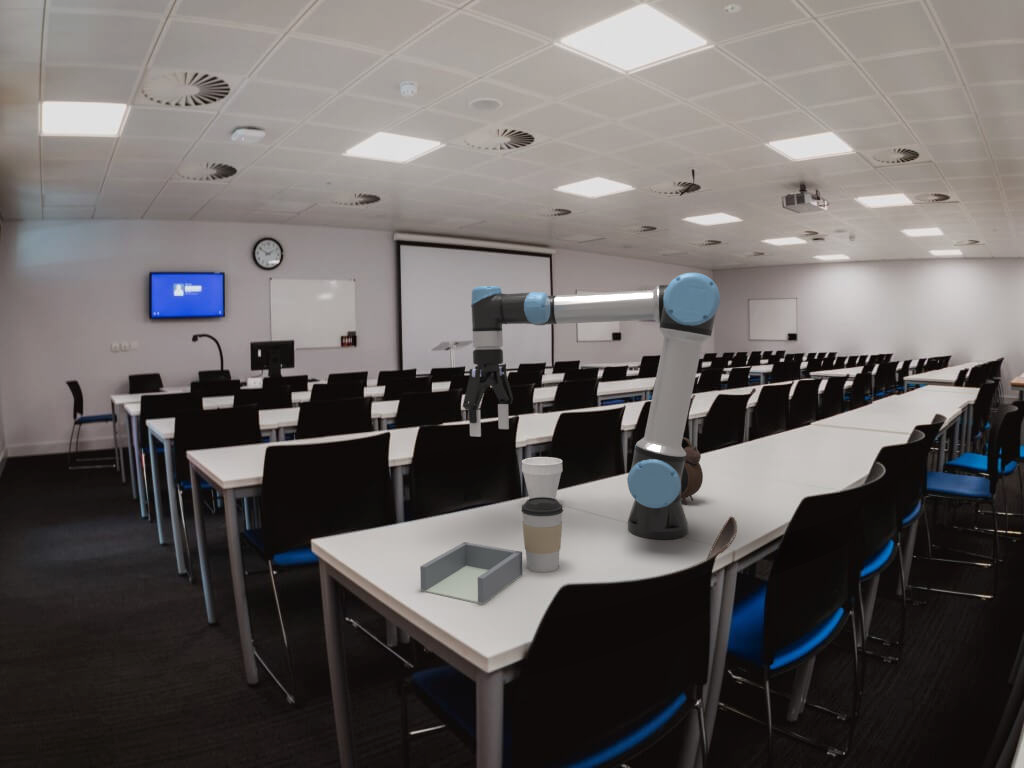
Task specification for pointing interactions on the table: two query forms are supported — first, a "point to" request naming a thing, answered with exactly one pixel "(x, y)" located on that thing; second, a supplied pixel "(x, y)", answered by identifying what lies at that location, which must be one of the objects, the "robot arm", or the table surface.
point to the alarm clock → (691, 472)
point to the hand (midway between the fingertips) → (490, 432)
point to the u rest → (471, 572)
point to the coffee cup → (542, 533)
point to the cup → (542, 476)
